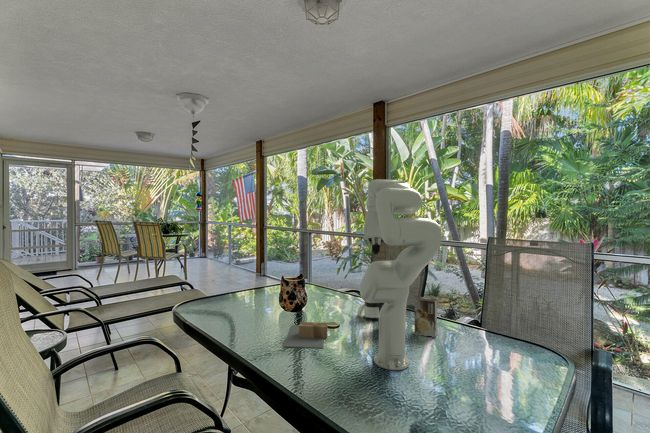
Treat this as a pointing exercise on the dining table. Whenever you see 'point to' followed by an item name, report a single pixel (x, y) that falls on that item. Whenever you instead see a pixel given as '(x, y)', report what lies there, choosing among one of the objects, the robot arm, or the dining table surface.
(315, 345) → the mat
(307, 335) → the block
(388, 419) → the dining table surface
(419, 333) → the coffee box
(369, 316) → the spread jar
